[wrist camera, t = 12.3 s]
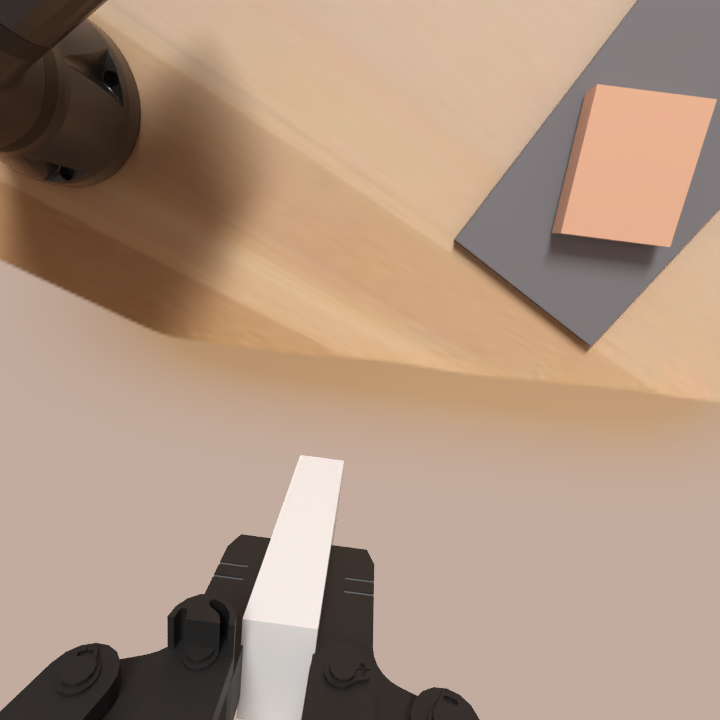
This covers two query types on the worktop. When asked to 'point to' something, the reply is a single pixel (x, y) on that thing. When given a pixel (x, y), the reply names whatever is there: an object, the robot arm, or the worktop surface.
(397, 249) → the worktop surface
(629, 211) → the tile
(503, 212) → the mat
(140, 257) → the worktop surface
